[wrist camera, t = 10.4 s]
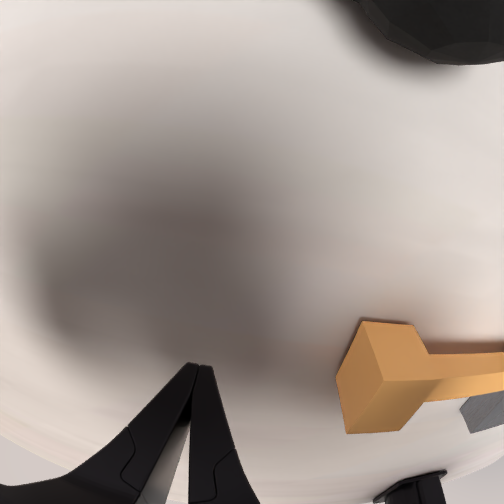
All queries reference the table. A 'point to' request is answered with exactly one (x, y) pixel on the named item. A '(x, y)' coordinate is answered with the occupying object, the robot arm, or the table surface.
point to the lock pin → (405, 377)
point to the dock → (484, 411)
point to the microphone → (443, 28)
